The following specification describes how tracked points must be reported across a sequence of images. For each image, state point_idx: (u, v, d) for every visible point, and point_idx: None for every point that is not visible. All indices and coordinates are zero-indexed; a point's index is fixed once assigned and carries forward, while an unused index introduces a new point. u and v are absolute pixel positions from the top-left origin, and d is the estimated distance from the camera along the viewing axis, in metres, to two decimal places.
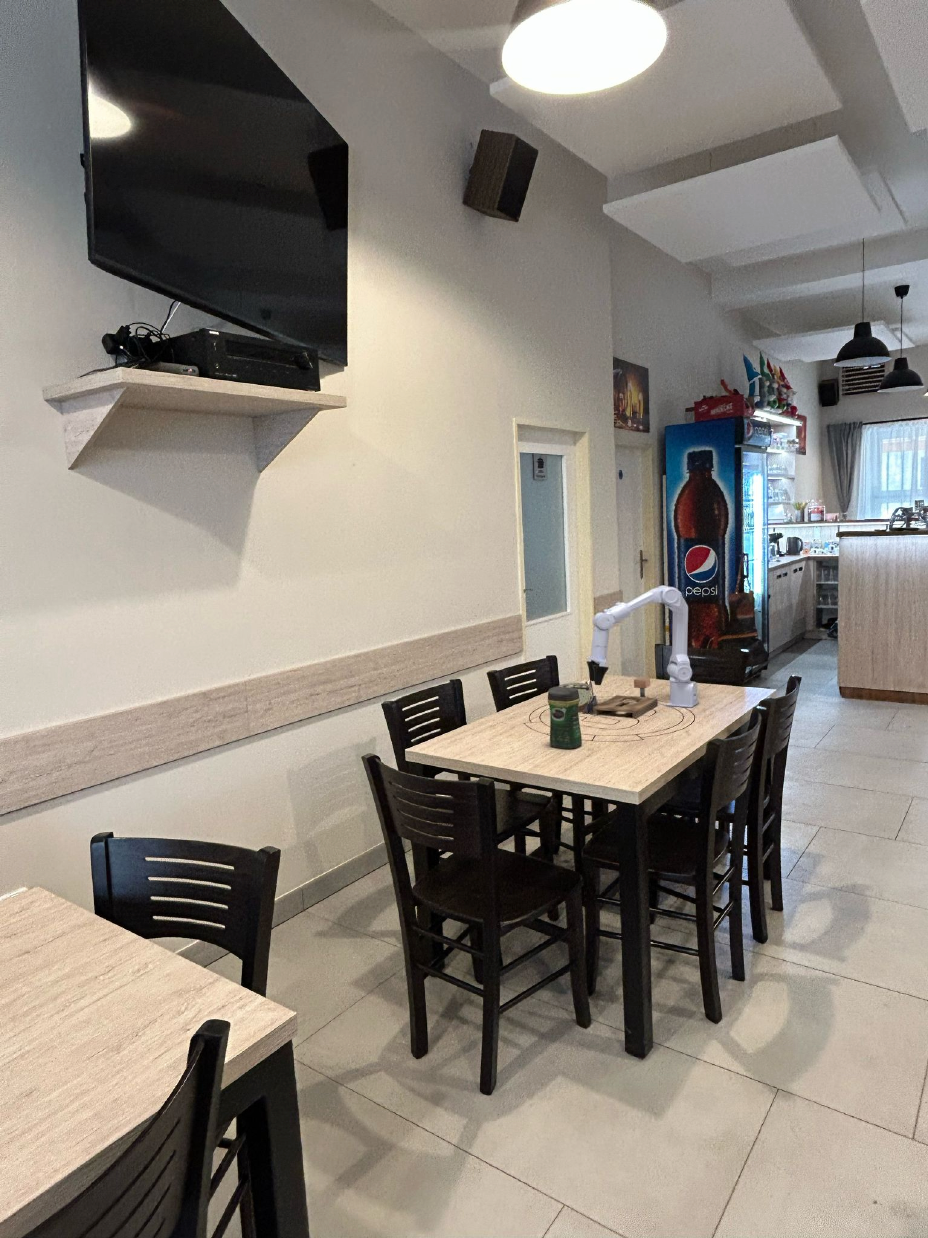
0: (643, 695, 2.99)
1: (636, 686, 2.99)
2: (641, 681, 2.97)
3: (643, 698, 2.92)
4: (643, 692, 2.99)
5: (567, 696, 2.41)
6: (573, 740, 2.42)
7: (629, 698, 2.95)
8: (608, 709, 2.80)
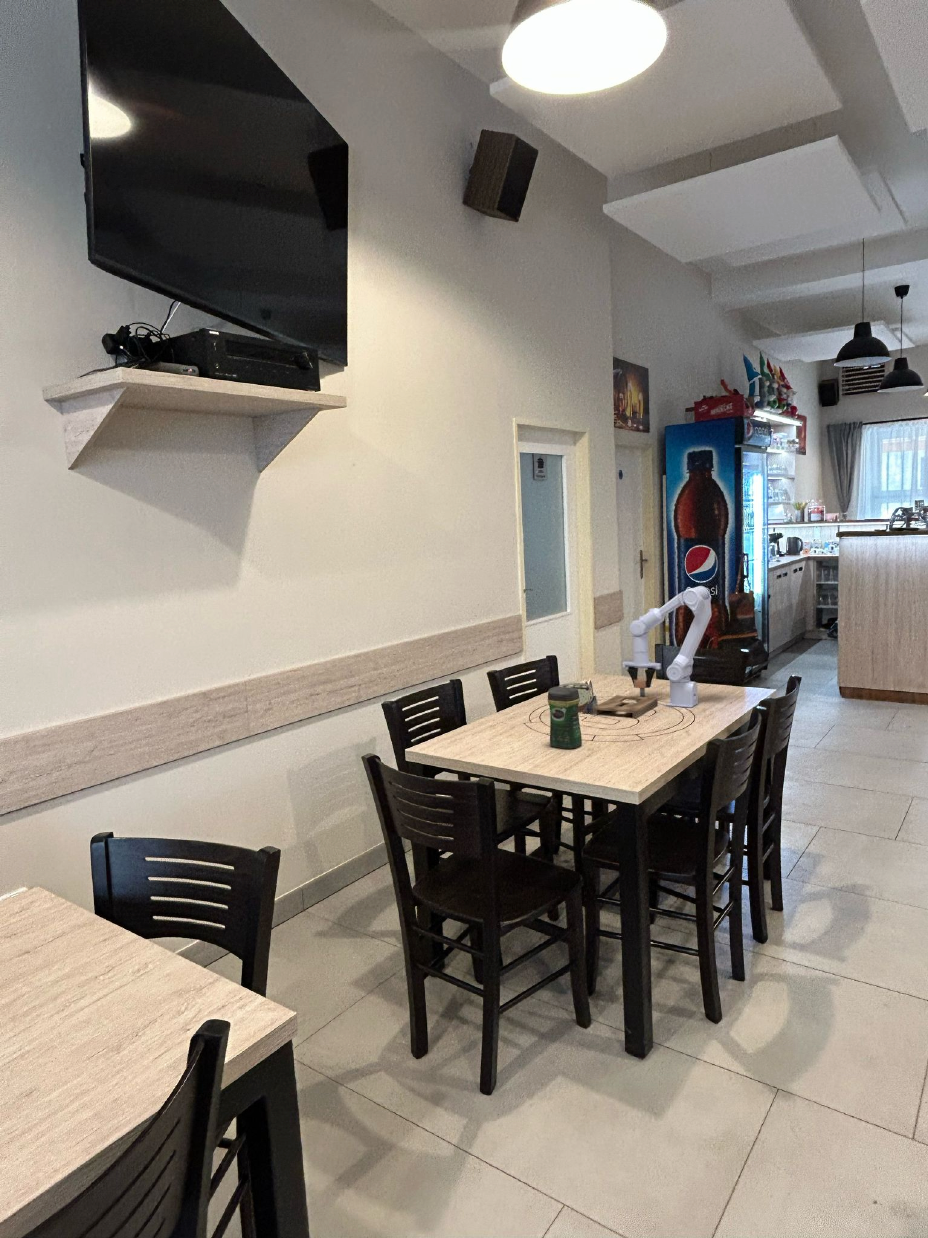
0: (643, 695, 2.99)
1: (636, 686, 2.99)
2: (641, 681, 2.97)
3: (643, 698, 2.92)
4: (643, 692, 2.99)
5: (567, 696, 2.41)
6: (573, 740, 2.42)
7: (629, 698, 2.95)
8: (608, 709, 2.80)
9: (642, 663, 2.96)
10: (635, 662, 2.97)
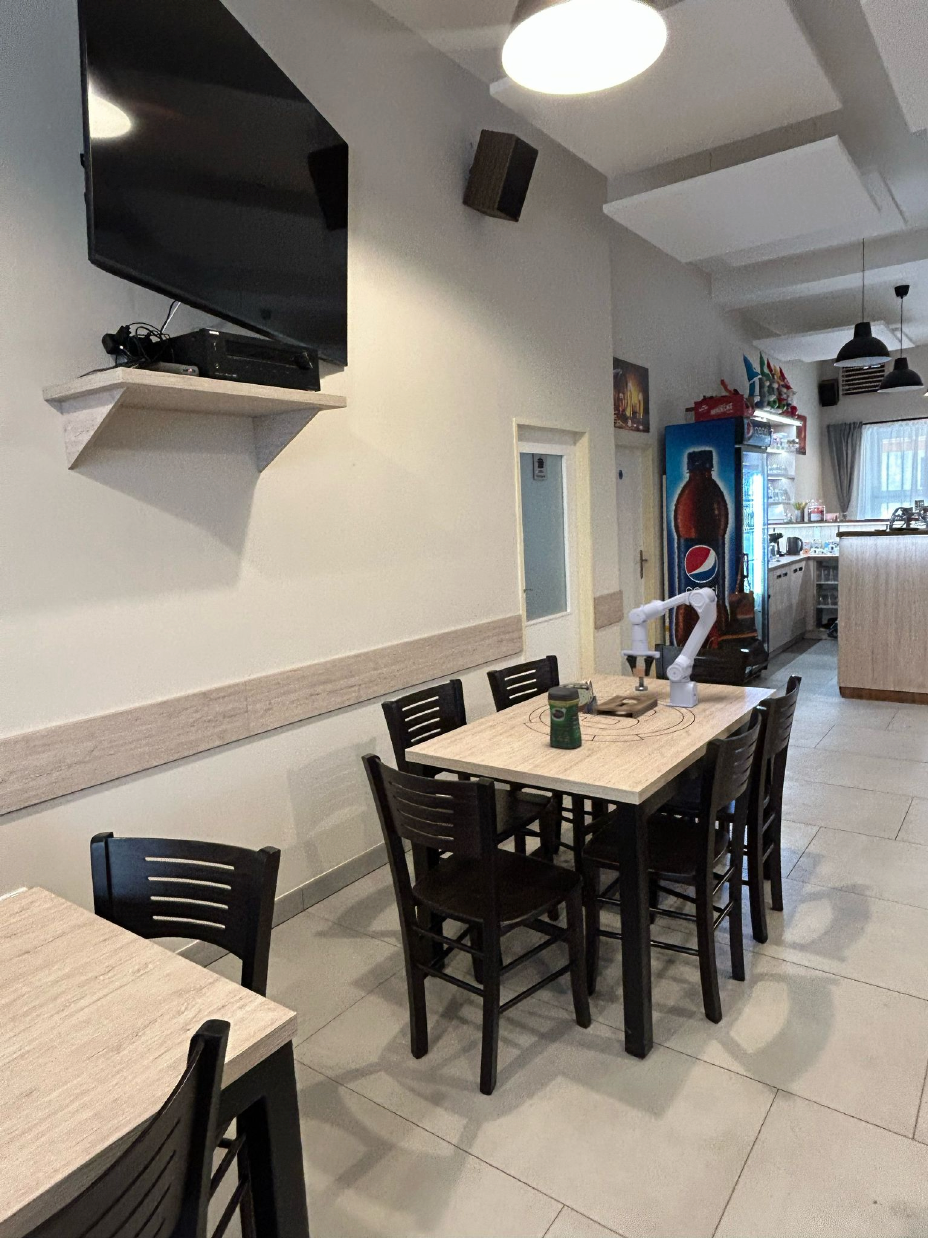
0: (642, 684, 2.98)
1: (635, 675, 2.98)
2: (640, 670, 2.96)
3: (643, 698, 2.92)
4: (642, 681, 2.98)
5: (567, 696, 2.41)
6: (573, 740, 2.42)
7: (629, 698, 2.95)
8: (608, 709, 2.80)
9: (641, 651, 2.95)
10: (634, 650, 2.96)
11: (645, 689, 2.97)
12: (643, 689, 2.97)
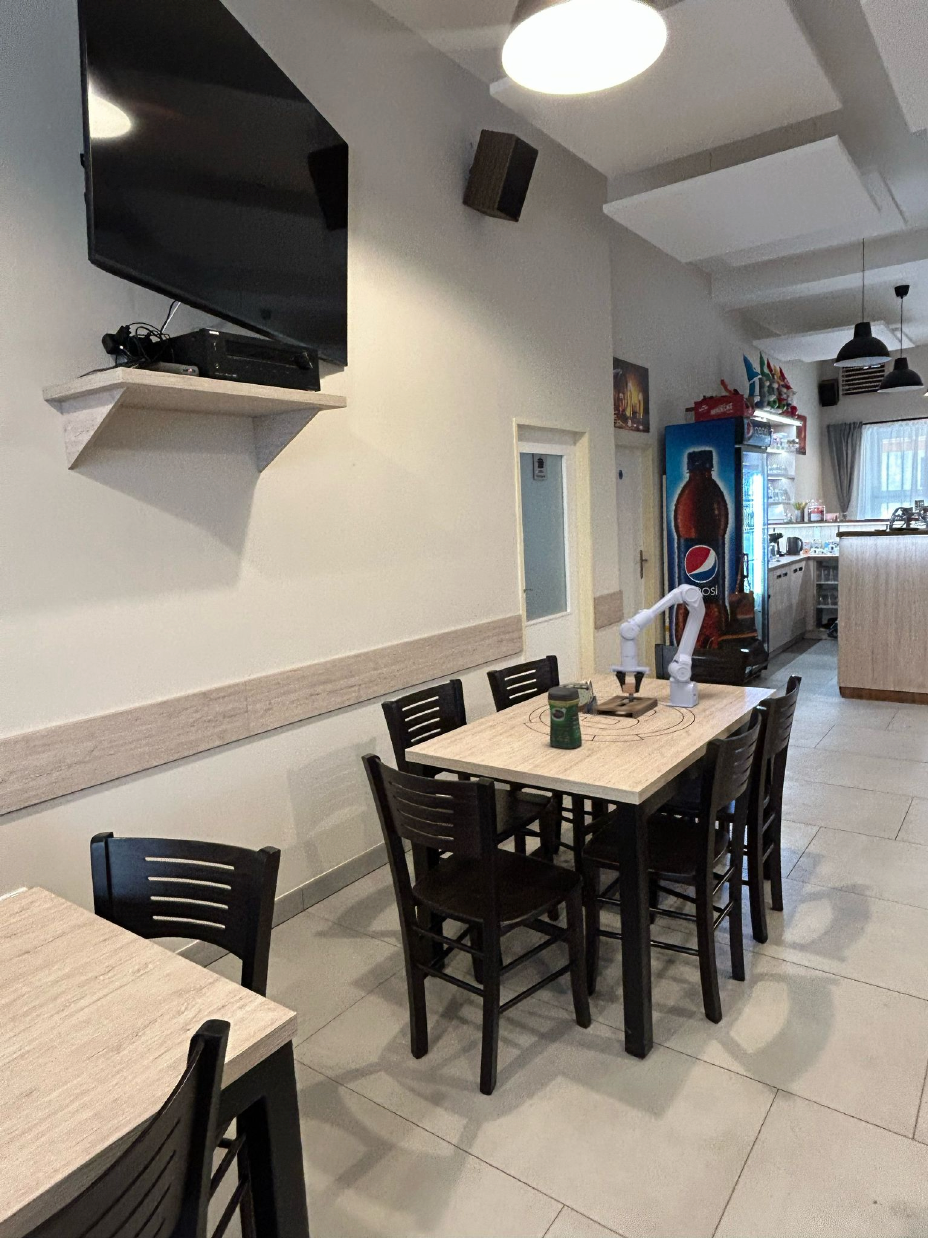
0: (632, 701, 2.91)
1: (625, 691, 2.90)
2: (630, 686, 2.88)
3: (643, 698, 2.92)
4: (632, 697, 2.91)
5: (567, 696, 2.41)
6: (573, 740, 2.42)
7: None
8: (608, 709, 2.80)
9: (631, 667, 2.87)
10: (624, 666, 2.88)
11: None
12: None
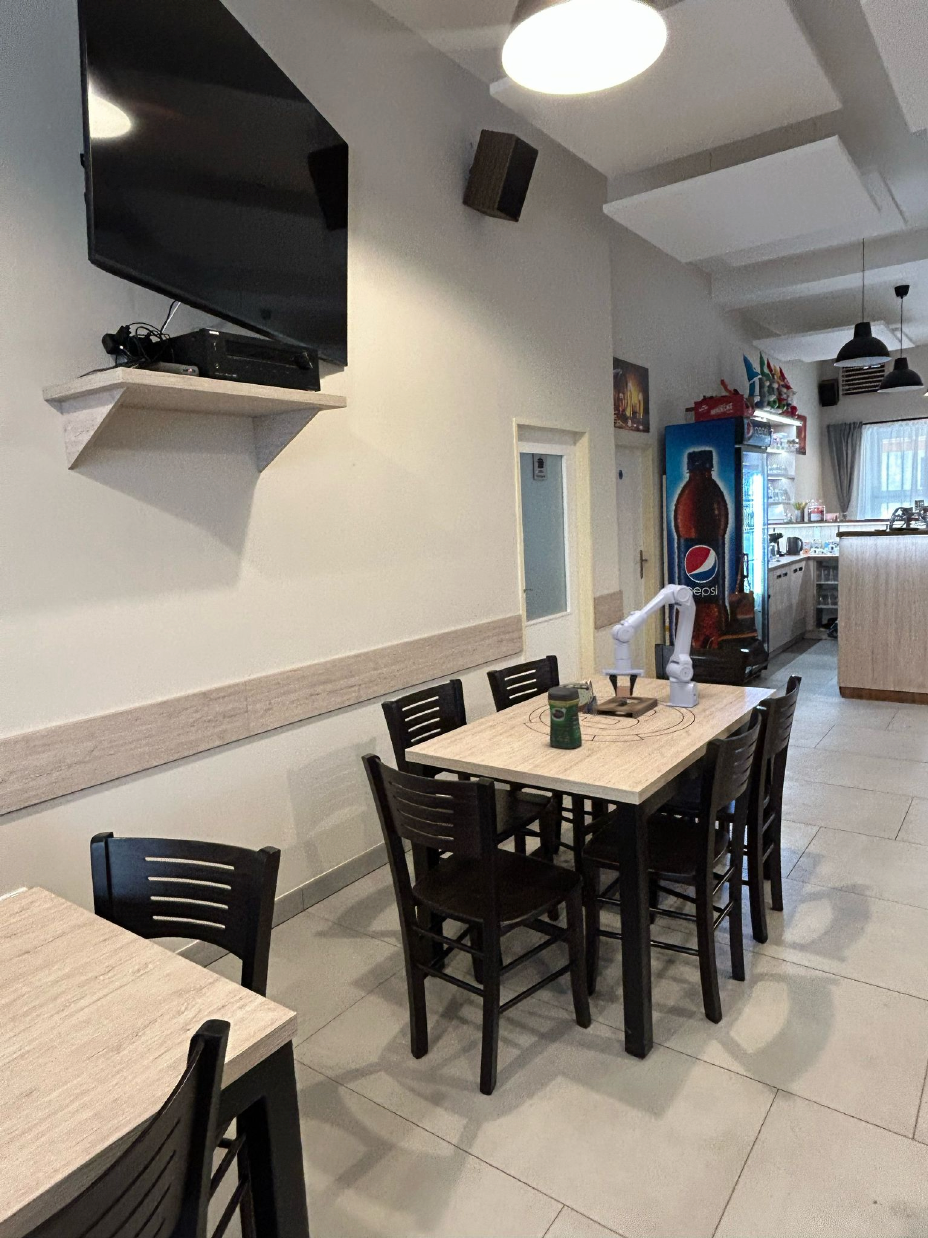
0: (626, 704, 2.86)
1: (619, 695, 2.84)
2: (625, 689, 2.84)
3: (643, 698, 2.92)
4: (626, 701, 2.86)
5: (567, 696, 2.41)
6: (573, 740, 2.42)
7: (629, 698, 2.95)
8: (608, 709, 2.80)
9: (626, 670, 2.82)
10: (618, 670, 2.83)
11: None
12: None
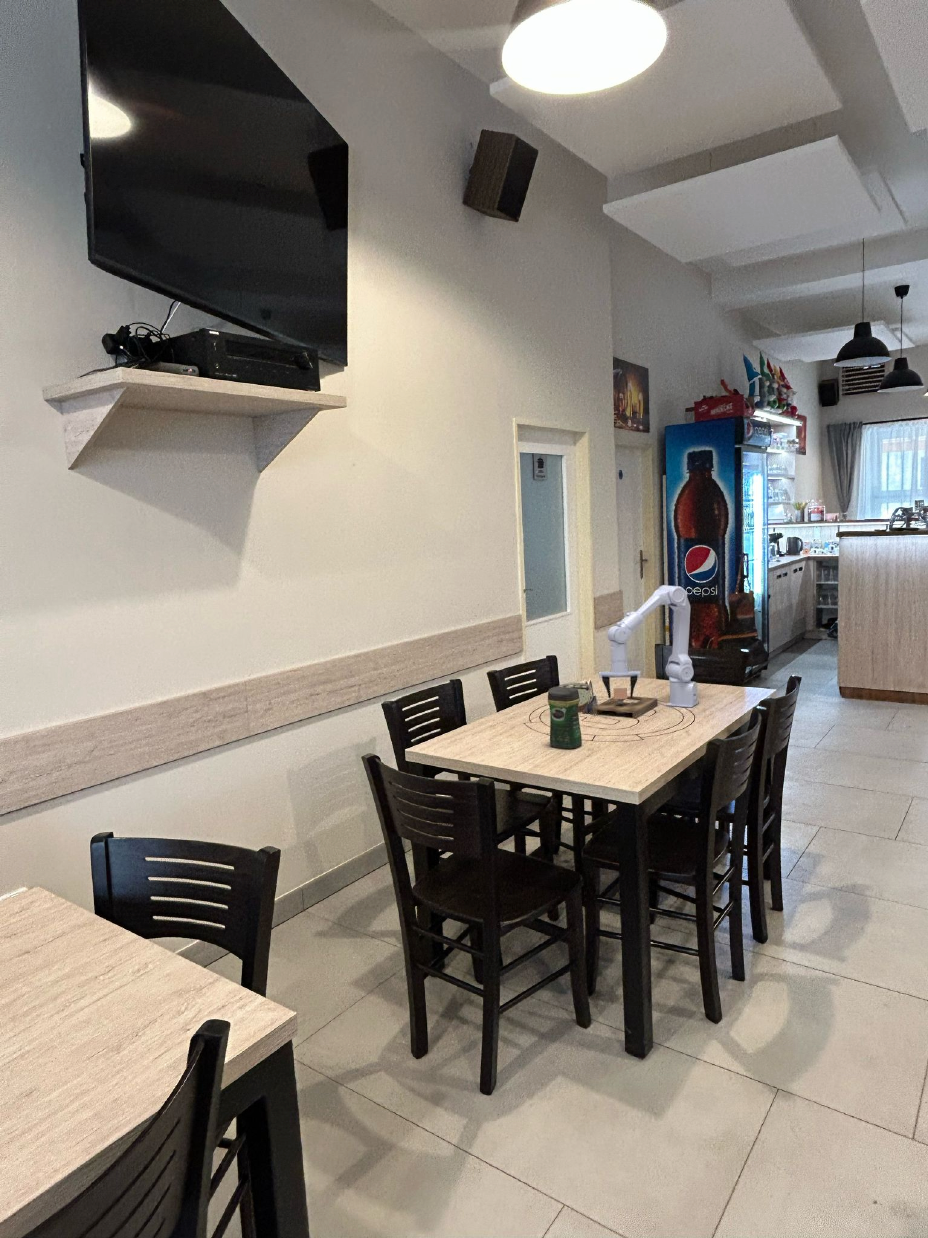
0: (622, 706, 2.83)
1: (616, 697, 2.82)
2: (622, 692, 2.81)
3: (643, 698, 2.92)
4: (622, 703, 2.83)
5: (567, 696, 2.41)
6: (573, 740, 2.42)
7: (629, 698, 2.95)
8: (608, 709, 2.80)
9: (623, 672, 2.80)
10: (615, 671, 2.80)
11: None
12: (625, 712, 2.82)
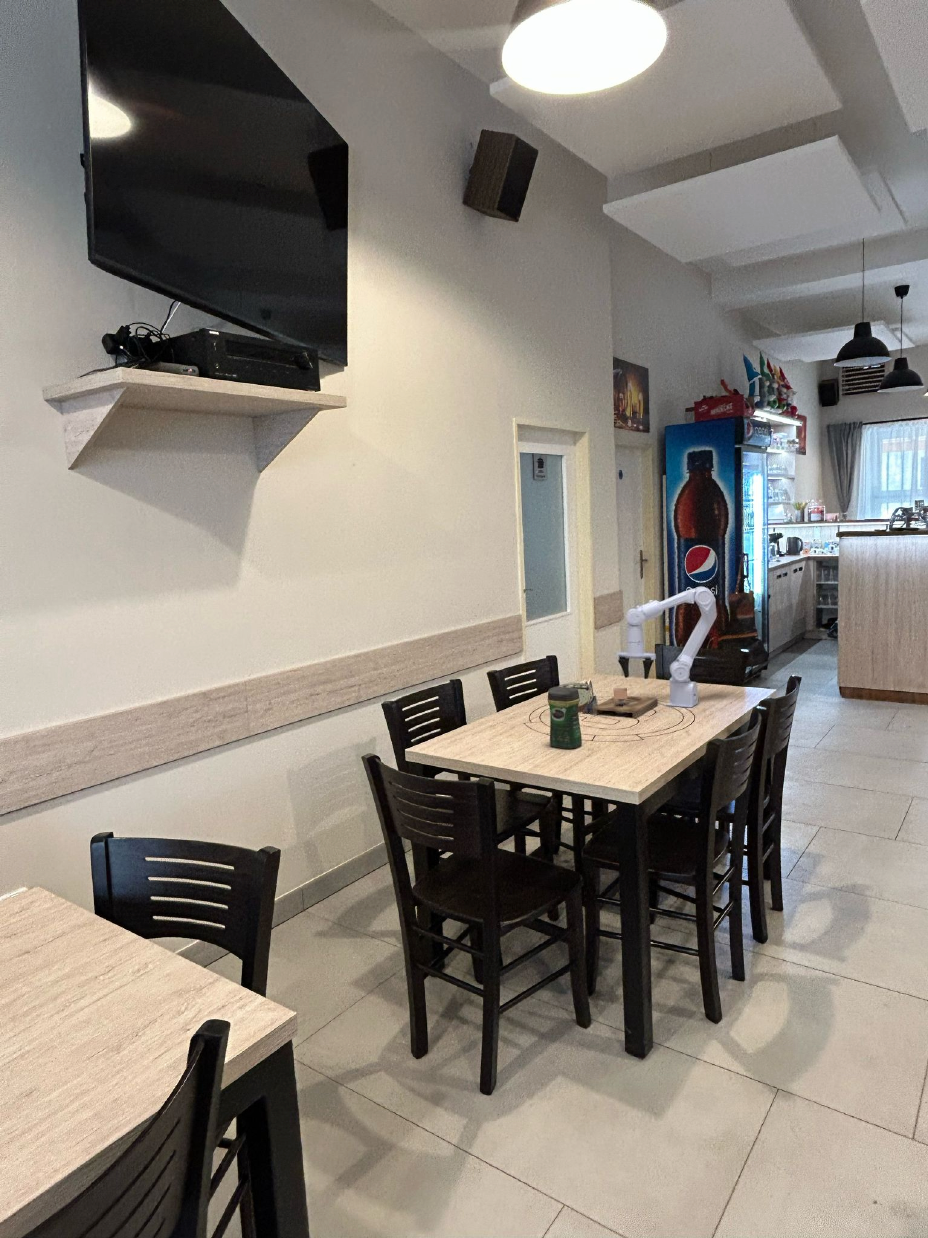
0: (622, 706, 2.83)
1: (616, 697, 2.82)
2: (622, 692, 2.81)
3: (643, 698, 2.92)
4: (622, 703, 2.83)
5: (567, 696, 2.41)
6: (573, 740, 2.42)
7: (629, 698, 2.95)
8: (608, 709, 2.80)
9: (636, 653, 2.89)
10: (629, 652, 2.90)
11: None
12: (625, 712, 2.82)
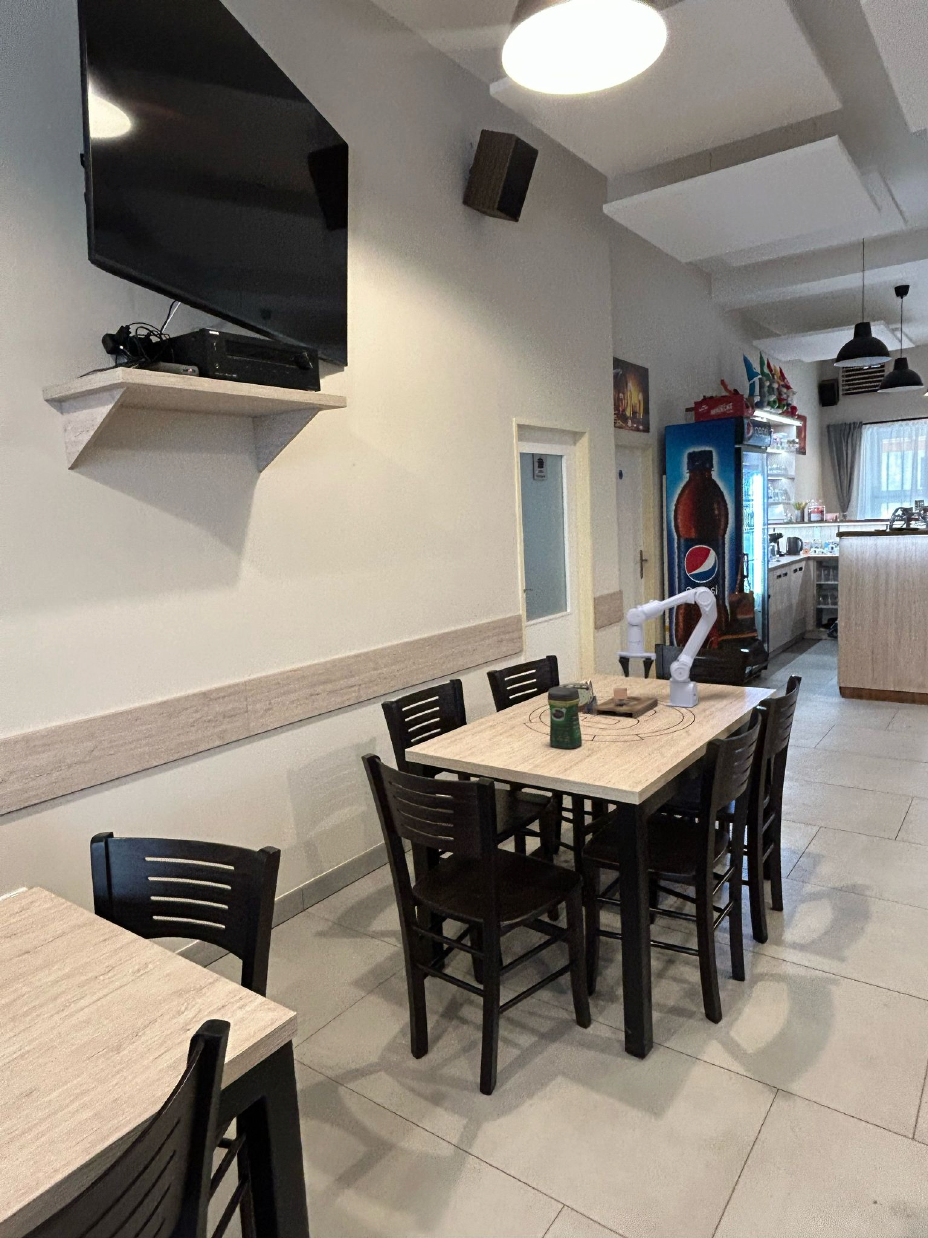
0: (622, 706, 2.83)
1: (616, 697, 2.82)
2: (622, 692, 2.81)
3: (643, 698, 2.92)
4: (622, 703, 2.83)
5: (567, 696, 2.41)
6: (573, 740, 2.42)
7: (629, 698, 2.95)
8: (608, 709, 2.80)
9: (637, 653, 2.89)
10: (629, 652, 2.91)
11: None
12: (625, 712, 2.82)
